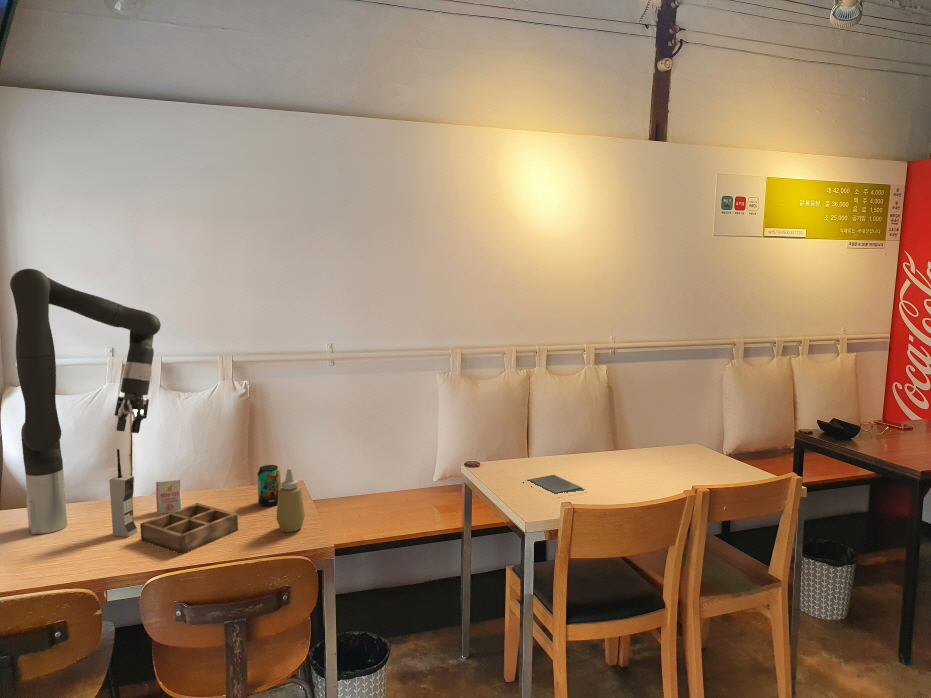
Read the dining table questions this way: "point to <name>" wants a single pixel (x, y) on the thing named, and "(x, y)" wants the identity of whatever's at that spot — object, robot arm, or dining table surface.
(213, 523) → the wooden compartment tray
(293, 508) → the squeeze bottle
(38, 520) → the robot arm
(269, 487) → the beverage can
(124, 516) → the vintage mobile phone
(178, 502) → the tea bag
